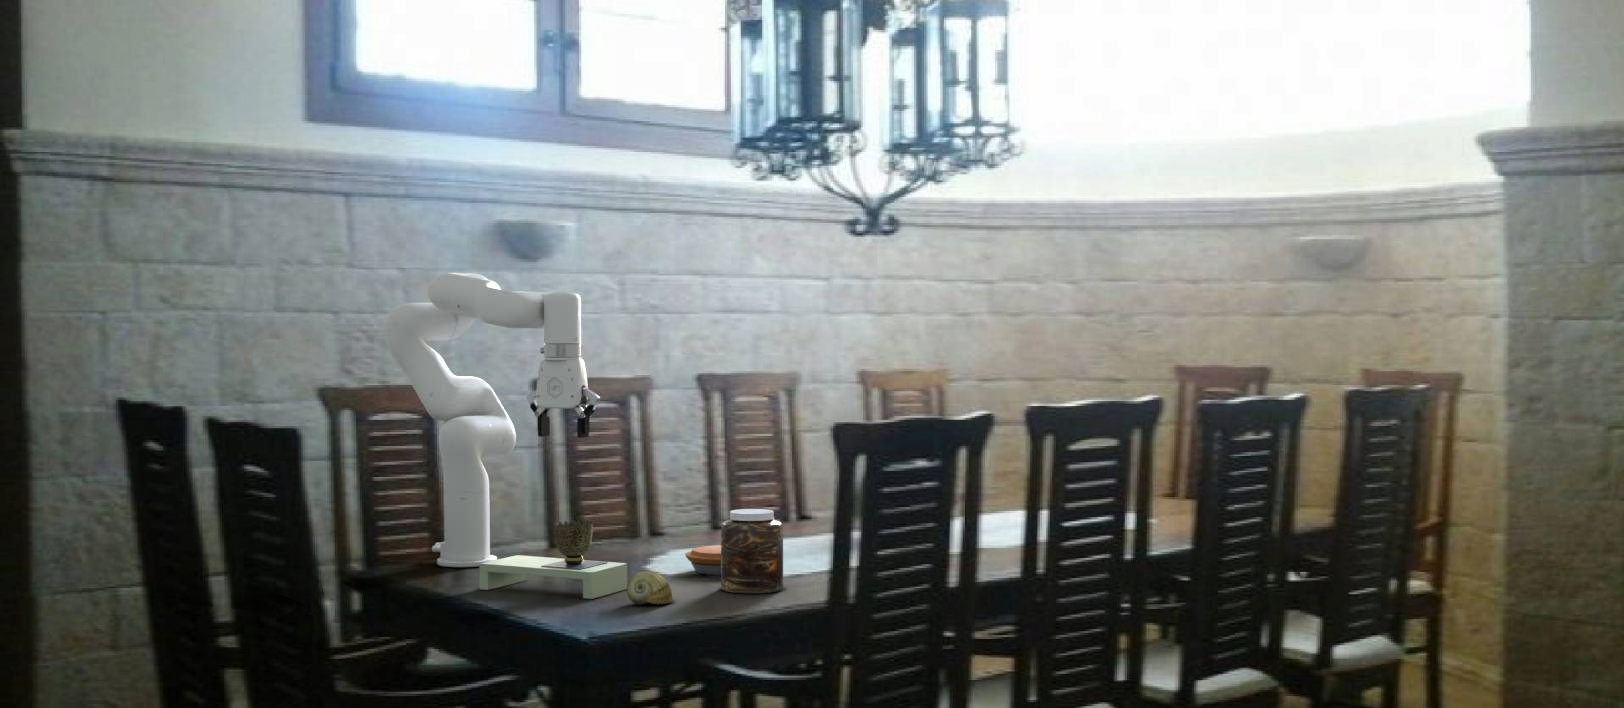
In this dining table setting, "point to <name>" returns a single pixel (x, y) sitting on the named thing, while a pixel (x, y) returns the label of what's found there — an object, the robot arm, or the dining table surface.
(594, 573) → the shelf
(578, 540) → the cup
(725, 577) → the jar
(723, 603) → the dining table surface
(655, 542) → the dining table surface
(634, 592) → the seashell
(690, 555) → the pie
